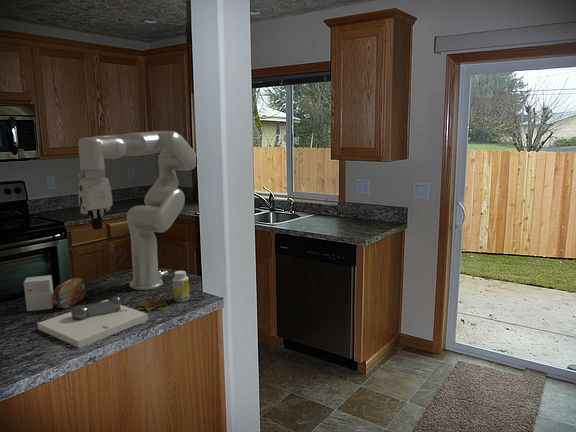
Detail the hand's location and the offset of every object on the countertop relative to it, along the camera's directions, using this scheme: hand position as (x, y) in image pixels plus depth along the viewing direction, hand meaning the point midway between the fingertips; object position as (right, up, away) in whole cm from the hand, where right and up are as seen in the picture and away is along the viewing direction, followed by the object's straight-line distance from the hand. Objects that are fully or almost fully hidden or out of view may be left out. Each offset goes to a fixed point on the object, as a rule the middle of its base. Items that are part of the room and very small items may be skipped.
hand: (97, 228), depth 161 cm
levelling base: (+4, -30, -12) cm, 32 cm away
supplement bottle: (+26, -26, +10) cm, 38 cm away
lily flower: (+18, -28, +3) cm, 33 cm away
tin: (-12, -27, +6) cm, 30 cm away
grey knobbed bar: (+4, -27, -9) cm, 29 cm away
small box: (-20, -27, +2) cm, 34 cm away
